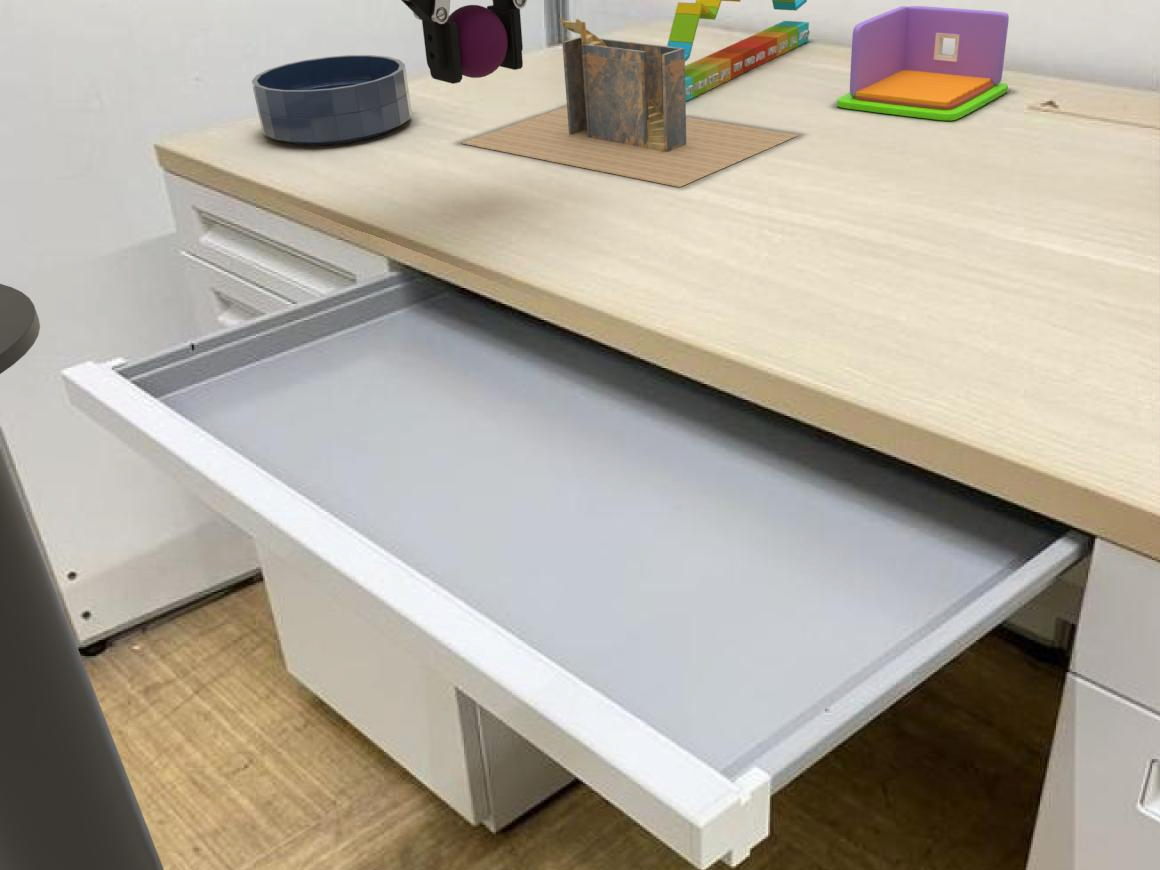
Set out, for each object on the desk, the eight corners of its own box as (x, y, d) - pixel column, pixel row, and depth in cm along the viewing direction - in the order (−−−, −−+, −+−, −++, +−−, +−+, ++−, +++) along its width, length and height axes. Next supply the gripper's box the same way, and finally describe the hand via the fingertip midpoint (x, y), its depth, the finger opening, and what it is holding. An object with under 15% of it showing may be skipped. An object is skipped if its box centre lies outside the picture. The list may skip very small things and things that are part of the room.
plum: (454, 87, 88) (446, 14, 85) (437, 74, 92) (429, 3, 89) (518, 79, 89) (512, 6, 86) (499, 66, 93) (493, -4, 90)
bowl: (275, 158, 110) (263, 99, 107) (255, 122, 121) (243, 68, 118) (427, 133, 114) (419, 76, 111) (394, 101, 125) (386, 48, 122)
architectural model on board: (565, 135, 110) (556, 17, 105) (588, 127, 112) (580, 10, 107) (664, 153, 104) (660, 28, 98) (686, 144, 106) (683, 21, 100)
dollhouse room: (894, 78, 120) (899, 0, 116) (1012, 90, 113) (1022, 9, 109) (831, 107, 113) (834, 26, 109) (953, 122, 106) (962, 37, 102)
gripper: (518, -233, 86) (537, 47, 97) (304, -218, 78) (350, 87, 88) (586, -235, 82) (598, 60, 92) (366, -219, 73) (407, 104, 83)
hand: (477, 70), depth 90 cm, fingers closed on plum, 4 cm apart
